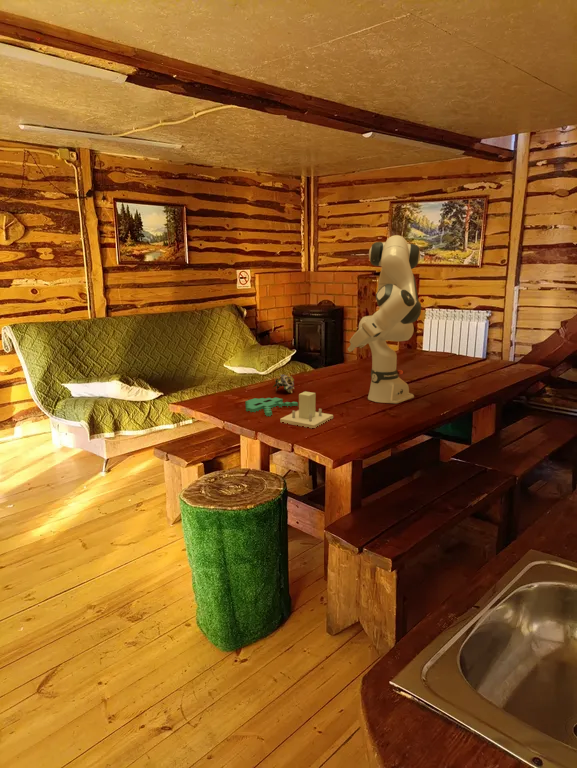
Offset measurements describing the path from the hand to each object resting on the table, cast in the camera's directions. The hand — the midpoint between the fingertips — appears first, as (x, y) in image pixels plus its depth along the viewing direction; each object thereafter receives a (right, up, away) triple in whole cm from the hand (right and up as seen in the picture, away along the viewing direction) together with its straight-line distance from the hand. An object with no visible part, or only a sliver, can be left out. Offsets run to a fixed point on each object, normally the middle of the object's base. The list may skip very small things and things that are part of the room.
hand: (354, 348), depth 215 cm
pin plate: (-18, -29, +14) cm, 37 cm away
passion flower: (-28, -18, +58) cm, 67 cm away
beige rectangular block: (-18, -27, +14) cm, 36 cm away
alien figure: (-36, -25, +33) cm, 55 cm away
